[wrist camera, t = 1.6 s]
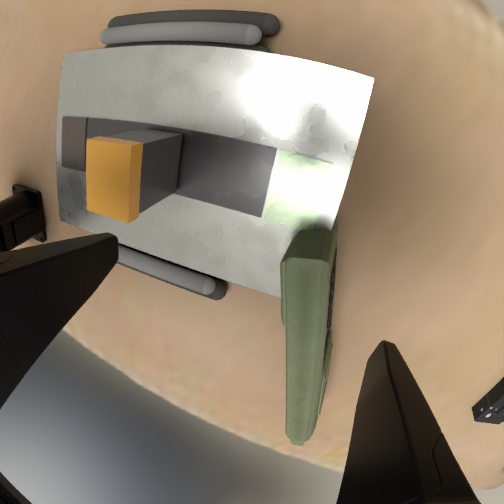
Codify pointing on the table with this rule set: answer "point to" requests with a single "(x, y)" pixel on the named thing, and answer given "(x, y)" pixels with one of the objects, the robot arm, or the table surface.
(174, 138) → the lever
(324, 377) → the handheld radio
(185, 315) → the table surface
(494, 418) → the disk drive
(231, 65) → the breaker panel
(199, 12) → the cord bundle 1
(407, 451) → the robot arm
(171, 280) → the grey rounded rod
